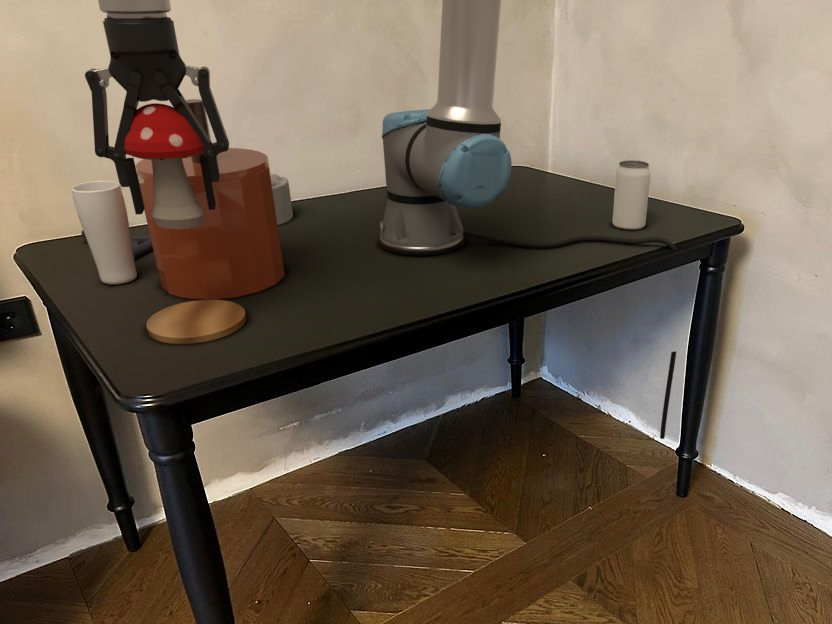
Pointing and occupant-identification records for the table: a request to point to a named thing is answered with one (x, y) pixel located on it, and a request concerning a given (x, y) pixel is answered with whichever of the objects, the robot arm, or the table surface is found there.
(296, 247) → the table surface
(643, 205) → the can
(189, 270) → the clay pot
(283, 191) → the lumpy-topped squat cylinder
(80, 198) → the drinking glass
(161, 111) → the decorative mushroom
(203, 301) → the round golden metal disc
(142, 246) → the bracket
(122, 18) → the robot arm
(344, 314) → the table surface
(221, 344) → the table surface
